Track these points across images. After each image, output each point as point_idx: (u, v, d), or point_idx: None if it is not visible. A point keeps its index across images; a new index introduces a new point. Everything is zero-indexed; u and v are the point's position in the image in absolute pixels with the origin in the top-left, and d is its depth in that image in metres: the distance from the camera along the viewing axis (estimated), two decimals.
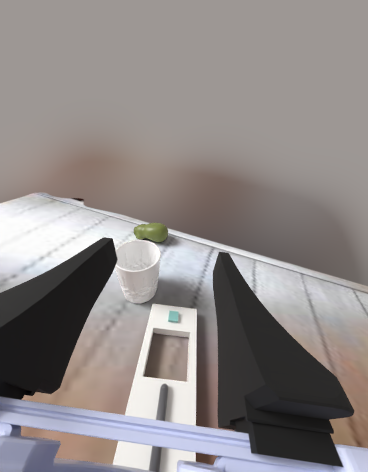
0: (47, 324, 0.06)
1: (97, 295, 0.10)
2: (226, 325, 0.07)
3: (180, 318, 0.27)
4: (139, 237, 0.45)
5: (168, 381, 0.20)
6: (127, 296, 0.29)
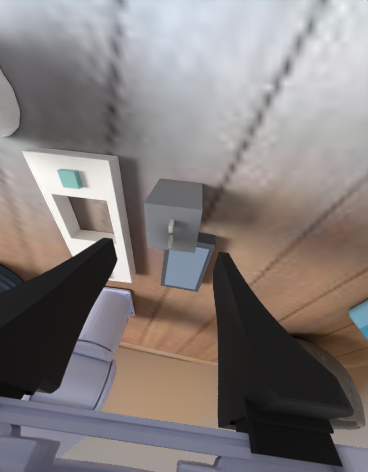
0: (47, 324, 0.06)
1: (97, 295, 0.10)
2: (226, 325, 0.07)
3: (85, 179, 0.15)
4: None
5: None
6: None
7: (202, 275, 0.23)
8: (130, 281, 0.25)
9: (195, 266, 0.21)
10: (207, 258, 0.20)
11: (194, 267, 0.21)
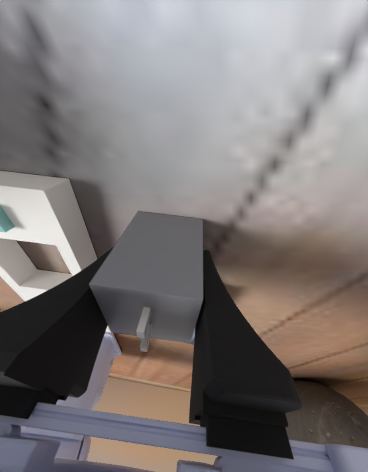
0: (78, 328, 0.06)
1: None
2: (199, 321, 0.07)
3: (15, 217, 0.10)
4: None
5: None
6: None
7: None
8: (108, 331, 0.19)
9: None
10: None
11: None
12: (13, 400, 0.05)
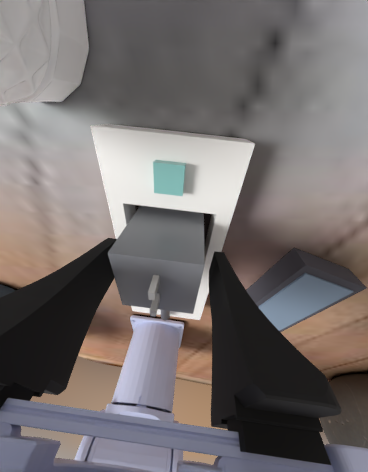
0: (55, 325, 0.06)
1: (102, 295, 0.10)
2: (220, 324, 0.07)
3: (193, 179, 0.09)
4: None
5: None
6: None
7: (305, 317, 0.16)
8: (198, 318, 0.18)
9: (309, 307, 0.15)
10: (336, 301, 0.14)
11: (306, 308, 0.15)
12: None
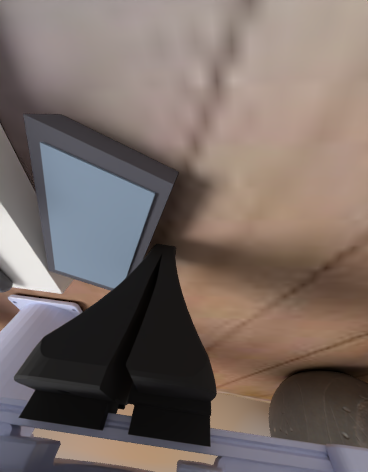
0: (134, 336, 0.06)
1: None
2: None
3: None
4: None
5: None
6: None
7: (137, 264, 0.10)
8: (59, 291, 0.13)
9: (119, 238, 0.09)
10: (149, 222, 0.08)
11: (117, 240, 0.09)
12: (88, 411, 0.05)
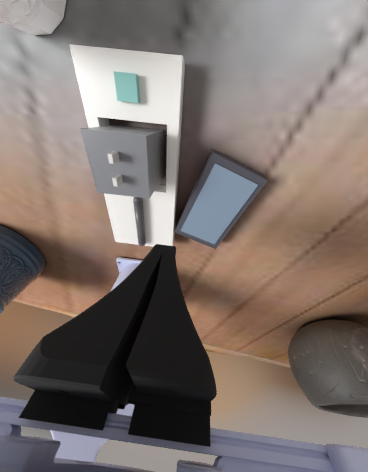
0: (135, 336, 0.06)
1: None
2: None
3: (145, 91, 0.12)
4: None
5: None
6: None
7: (231, 225, 0.19)
8: None
9: (229, 209, 0.17)
10: (249, 199, 0.17)
11: (228, 210, 0.17)
12: (88, 411, 0.05)
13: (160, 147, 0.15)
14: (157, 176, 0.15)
